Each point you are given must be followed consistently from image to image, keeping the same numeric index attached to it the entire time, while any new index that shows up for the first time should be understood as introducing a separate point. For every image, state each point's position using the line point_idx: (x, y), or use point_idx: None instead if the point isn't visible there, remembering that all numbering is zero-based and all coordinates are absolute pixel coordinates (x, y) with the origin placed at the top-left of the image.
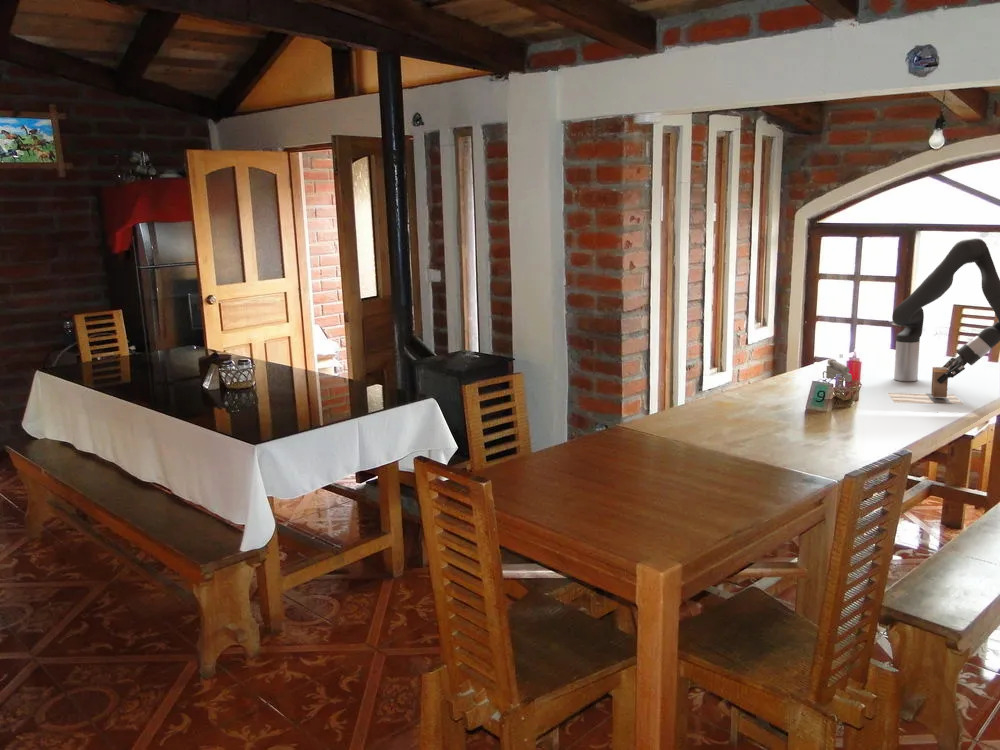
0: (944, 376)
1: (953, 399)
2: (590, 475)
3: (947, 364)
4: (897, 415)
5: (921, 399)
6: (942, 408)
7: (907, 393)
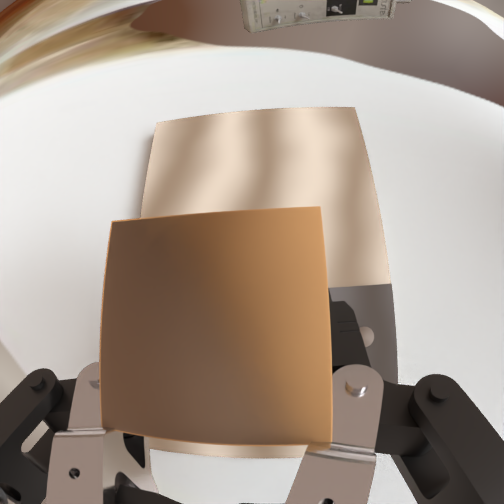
0: None
1: None
2: (4, 15)
3: (318, 489)
4: (47, 153)
5: None
6: None
7: (372, 184)
